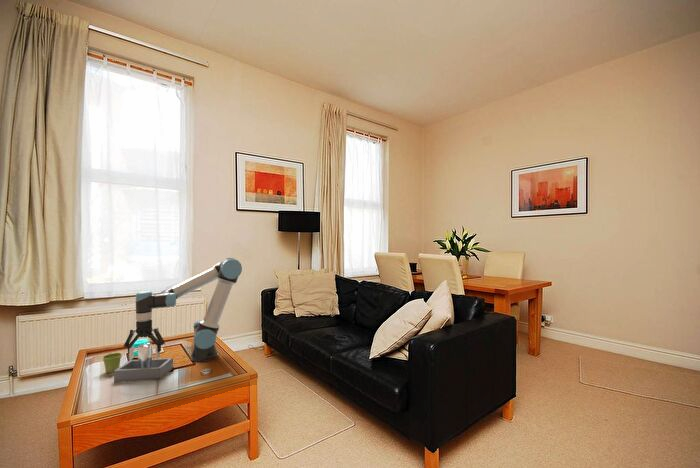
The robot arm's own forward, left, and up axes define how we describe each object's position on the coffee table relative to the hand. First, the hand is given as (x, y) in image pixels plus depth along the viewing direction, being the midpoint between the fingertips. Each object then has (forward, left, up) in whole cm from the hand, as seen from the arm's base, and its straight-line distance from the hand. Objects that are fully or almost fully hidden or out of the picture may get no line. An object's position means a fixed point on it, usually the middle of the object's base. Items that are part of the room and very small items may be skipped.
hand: (144, 358), depth 182 cm
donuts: (+18, -31, -9) cm, 37 cm away
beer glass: (-1, 0, -8) cm, 8 cm away
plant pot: (+22, -9, -9) cm, 25 cm away
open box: (0, 0, -9) cm, 9 cm away
